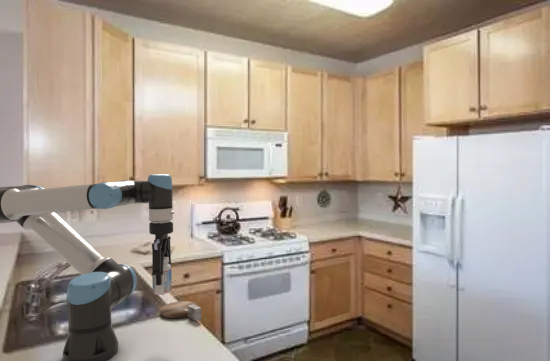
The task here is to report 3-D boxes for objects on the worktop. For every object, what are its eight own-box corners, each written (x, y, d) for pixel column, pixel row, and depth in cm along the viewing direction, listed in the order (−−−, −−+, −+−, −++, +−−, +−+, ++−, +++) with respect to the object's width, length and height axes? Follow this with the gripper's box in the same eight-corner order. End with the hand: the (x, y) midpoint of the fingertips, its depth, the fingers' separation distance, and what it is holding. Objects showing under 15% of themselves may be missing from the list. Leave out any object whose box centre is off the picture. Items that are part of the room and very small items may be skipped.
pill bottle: (162, 288, 129) (161, 255, 129) (175, 290, 127) (175, 257, 126) (148, 293, 124) (147, 259, 124) (162, 296, 121) (161, 261, 121)
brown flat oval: (153, 312, 146) (153, 301, 146) (184, 302, 157) (184, 292, 157) (182, 325, 133) (181, 314, 133) (213, 314, 143) (213, 303, 143)
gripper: (164, 225, 115) (166, 300, 116) (179, 217, 134) (180, 281, 135) (139, 225, 115) (141, 301, 116) (158, 217, 134) (159, 282, 135)
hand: (162, 290), depth 125 cm, fingers closed on pill bottle, 6 cm apart
